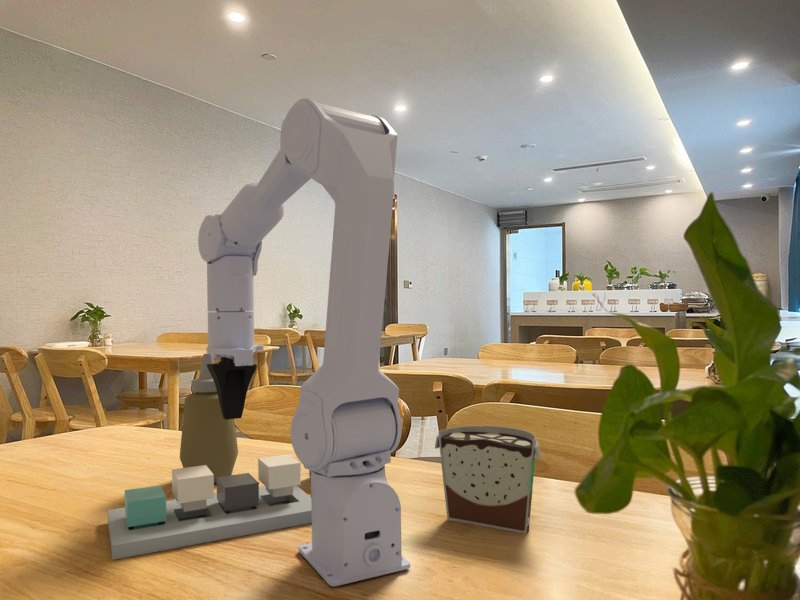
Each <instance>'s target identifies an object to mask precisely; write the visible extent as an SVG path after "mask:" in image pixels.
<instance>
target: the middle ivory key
mask: <svg viewBox="0 0 800 600" xmlns="http://www.w3.org/2000/svg"><path fill="white" fill-rule="evenodd" d="M171 483H172V484H171V492H172V495H173V496H174V498H175V499H174V500H176V501H177V503H178V504H180V505H181V507H182V509H183V511H184V512H186V511H193V510H199V509H205V508H207V505H206V499H212V498H214V494H215V483H214V474H213V473H212V472H211V471H210V469H209V468H208V467H207V466H206V465H202V466H195V467H187V468H183V467H180V468H174V469H171Z"/></svg>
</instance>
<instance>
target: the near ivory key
mask: <svg viewBox="0 0 800 600" xmlns="http://www.w3.org/2000/svg"><path fill="white" fill-rule="evenodd" d="M257 460H258V461H257V463H258V464H257V466H258V469H257V470H258V471H257V475H258V477H257V478H258V481H259V482H261V484H263V485H264V486H266V491H267V492H268V493H269V494H270V495H272V496H273V497H279V496H285V495H292V494H293V486H296V485H297V486H300V485H302V483H301V482H302V481H301V475H302V474H301V461H298V460H297V459H296V458H294V457H293V456H291V455H290V454H289V453H287V454H281V455H273V456H265V457H258V459H257Z"/></svg>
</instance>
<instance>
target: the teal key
mask: <svg viewBox="0 0 800 600" xmlns="http://www.w3.org/2000/svg"><path fill="white" fill-rule="evenodd" d="M166 501H167V495H166V493H165V491H164V489H163V485H162V484H160V485H153V486H145V487H139V488H138V487H136V488H131V489H124V507H125V516H126V521H127V526H128V527H132V526H133V530H134V529H139V528H145V527H151V526H157V525H159V522H162V521H166Z"/></svg>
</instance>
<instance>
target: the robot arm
mask: <svg viewBox="0 0 800 600" xmlns="http://www.w3.org/2000/svg"><path fill="white" fill-rule="evenodd" d="M279 141H280V142H279V143H280V149H279V150H278V152H277V153H276V155H275V157H274V158H273V160H272V161H271V163H270V165H269V166H268V167H267V169H266V171H265V172H264V174H263V175H262V176H261V179H260V180H259V181H258V182H251V183H245V185H244V186H243V187H242V188H241V189H240V190H239V191H238V193H237V194H236V196H234V197H233V199H232V201H231V202H230V203H229V204H228V205H227V207H226V208H225V209H224V210H223V212H222V213H221V214H218V213H217V214H214V215H211V214H208V215H206V216H204V218H203V220H202V222H201V224H200V226H199V231H198V238H197V239H198V240H197V244H198V251H199V254H200V257H201V259H202V260H203V261H204V262H206V276H207V277H206V283H207V284H206V288H207V289H206V290H207V291H206V293H207V294H206V296H207V304H206V305H207V346H206V354H212V355H213V359H220V361H218V363H214V364H207V368H208V370H209V372H210V374H211V376H212V378H213V380H214V383H215V386H216V390H217V394H218V398H219V403H220V408H221V412H222V416H223V418H224V419H225V420H227V419H234V420H235V419H237V420H238V419H242V418H243V417H242V416H243V413H244V409H245V403H246V400H247V399H246V398H247V395H248V394H247V393H248V389H249V386H250V384H251V381H252V379H253V377H254V374H255V373H256V370H257V367H258V365H257V363H254V353H256V352H257V351H258V352H259V351H261V352H262V351H264V345H263V344H255V311H254V310H255V305H254V302H255V301H254V299H255V297H254V295H255V294H254V276H257V274H258V265H259V263H258V262H259V258H260V255H261V251H262V246H263V240H264V239H265V238H266V236H268V235H269V233H270V232H271V231H272V230H273V229H274V228H275V227H276V226H277V225H278V224H279V222H281V220H282V219H283V217H284V213H285V211H284V210H285V208H284V204H285V202H287V201H288V200H289V199H290V198H291V197H293V195H294V194H295V193H296V192H298V191H299V190H300V189H301V188H302V187H304V185H305V184H307V183H308V182H309V181H310V180H313V181H315V182H316V183H318V185H319V184H320V185H321V186H322V187H323V188H324V190H325V191H326V192H327V193H328V195H329V196H330V197H331V199H332V200H333V201H334V216H333V217H334V219H333V227H332V228H333V231H332V243H331V256H330V270H329V271H330V272H329V282H328V294H327V296H328V297H327V308H326V320H325V321H326V322H325V333H324V334H325V335H324V349H323V359H322V360H323V361H322V365H321V366H320V367H319V368H318V369H317V370H316V371H315V372H314V373H313V374H312V375H311V376H309V378H308V379H306V380H305V381H304V382H303V383H302V385H300V388H299V399H298V403H297V407H296V410H295V412H294V414H293V417H292V420H291V423H290V440H291V446H292V448H293V451H294V454H295V455H296V458H297V459H298V460H299V462H300V464H302V466H303V468H304V469H306V470H311V479H310V489H311V490H310V492H311V493H310V495H311V496H310V497H311V510H312V523H311V542H308V543H305V544H299V545H298V547H297V548H298V550H297V551H298V552H299V553H300V554H301V555H302V556H303V558H304V559H305V560H306V561H308V563H309V564H310V565H311V566H312V568H314V570H315V571H316V572H317V574H319V575H320V577H321V578H322V579H323V580H324V581H325V582H326V583H327V584H328V585H329V586H330V587H339V586H342V585H343V586H344V585H347V584H352V583H355V582H358V581H359V582H360V581H363V580H368V579H372V578H377V577H380V576H384V575H388V574H392V573H395V572H396V573H397V572H401V571H405V570H408V569H410V568H411V562H410V561H409V560H408V559H406V558H405V557H403V556H402V509H401V508H402V506H401V505H402V504H401V501H400V498H399V496H398V495H399V494H397V492H396V490H395V488H393V487H392V486H391V485H390V482H388V480H387V476H386V467H385V466H386V465H388V464H390V463H392V461H391V460H392V459H391V456H392V454H391V453H393V452H394V451H395V450H396V449H397V448H398V446H399V444H400V442H401V438H402V433H403V432H402V431H403V424H402V423H403V422H402V416H401V412H400V408H399V393H400V389H399V387H398V386H397V384H396V383H394V381H393V380H391V379H390V378H389V377H388V376H387V375H386V374H385V373H383V372H382V371H381V370H380V368H379V366H380V358H381V357H380V356H381V345H382V331H383V323H384V309H385V300H386V299H385V297H386V287H387V274H388V263H389V251H390V241H391V229H392V219H393V205H394V195H395V181H394V180H395V169H396V160H397V159H396V158H397V148H398V134H397V133H396V131H395V130H394V129H393V128H392V127H391V125H390V124H389V123H388V122H387V120H386V119H385V118H383V117H381V116H378V115H375V114H374V115H373V114H371V115H368V114H365V113H361V112H358V111H353V110H349V109H346V108H341V107H337V106H332V105H329V104H324V103H321V102H317V101H315V100H314V99H310V98H308V97H305V98H303V97H302V98H300V99H299V100H297V101H296V102H295V103H294V104H293V105H292V106H291V107H290V109H289V110H288V111H287V113H286V116H285V117H284V119H283V120H282V123H281V130H280V139H279Z"/></svg>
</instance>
